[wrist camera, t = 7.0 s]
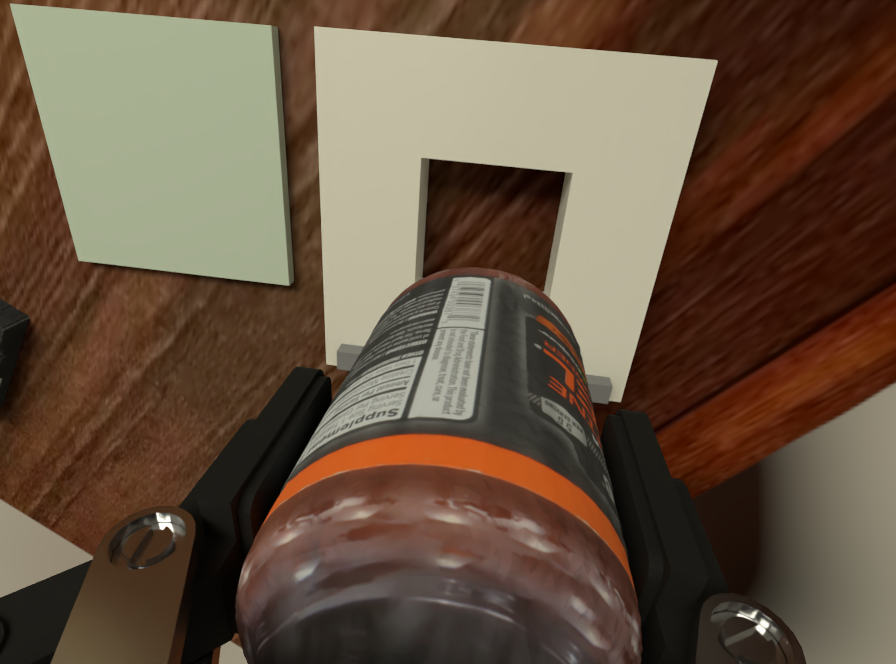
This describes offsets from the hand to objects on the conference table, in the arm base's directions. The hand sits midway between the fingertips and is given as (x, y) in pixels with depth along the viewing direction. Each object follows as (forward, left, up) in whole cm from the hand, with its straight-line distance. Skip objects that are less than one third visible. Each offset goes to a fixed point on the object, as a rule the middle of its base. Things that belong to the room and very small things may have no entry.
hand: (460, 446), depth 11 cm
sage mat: (-2, -19, -20) cm, 28 cm away
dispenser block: (0, 0, -20) cm, 20 cm away
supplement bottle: (0, 0, -4) cm, 4 cm away
